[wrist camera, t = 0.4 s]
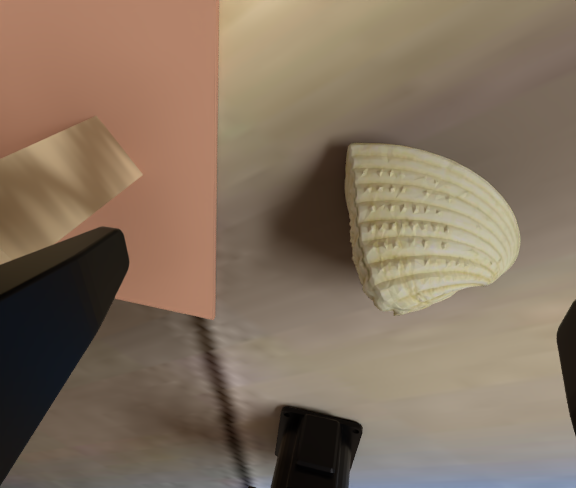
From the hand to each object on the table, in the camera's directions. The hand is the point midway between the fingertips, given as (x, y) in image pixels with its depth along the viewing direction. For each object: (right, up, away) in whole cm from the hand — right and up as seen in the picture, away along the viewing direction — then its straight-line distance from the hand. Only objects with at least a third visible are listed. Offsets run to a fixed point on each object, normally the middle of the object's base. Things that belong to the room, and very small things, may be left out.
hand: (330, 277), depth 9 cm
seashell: (+7, +3, +15) cm, 16 cm away
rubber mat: (-14, +6, +18) cm, 23 cm away
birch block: (-13, +5, +17) cm, 22 cm away
